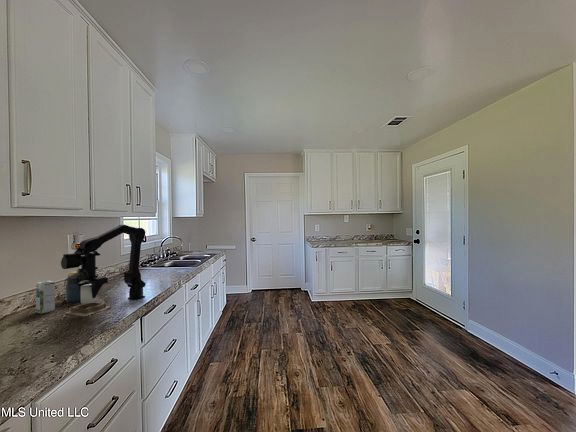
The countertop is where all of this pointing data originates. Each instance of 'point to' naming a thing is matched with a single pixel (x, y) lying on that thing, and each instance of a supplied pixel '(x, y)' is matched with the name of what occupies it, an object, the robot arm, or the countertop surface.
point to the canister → (72, 290)
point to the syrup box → (45, 296)
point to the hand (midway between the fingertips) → (88, 297)
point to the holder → (88, 309)
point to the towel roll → (87, 294)
